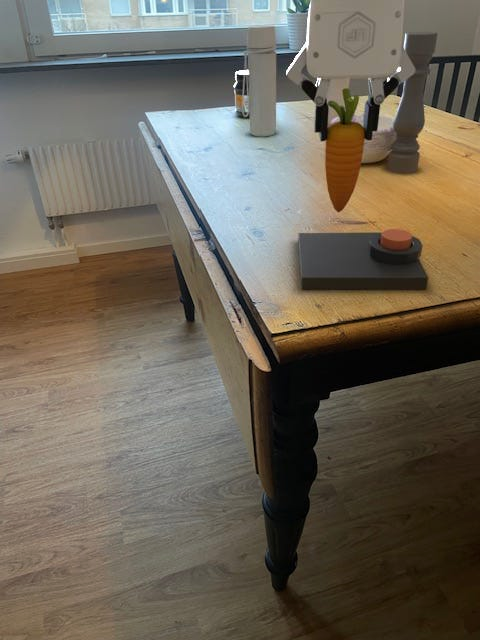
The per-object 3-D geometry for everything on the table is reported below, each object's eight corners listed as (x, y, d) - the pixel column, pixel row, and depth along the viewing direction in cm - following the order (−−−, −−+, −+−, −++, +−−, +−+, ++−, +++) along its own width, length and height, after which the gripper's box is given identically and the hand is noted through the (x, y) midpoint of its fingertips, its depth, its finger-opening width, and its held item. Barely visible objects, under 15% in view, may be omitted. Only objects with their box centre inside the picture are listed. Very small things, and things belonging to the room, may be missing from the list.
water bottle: (271, 129, 138) (271, 24, 124) (280, 136, 132) (281, 26, 118) (239, 132, 136) (235, 26, 122) (247, 139, 130) (243, 28, 116)
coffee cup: (311, 126, 139) (313, 66, 131) (317, 118, 147) (320, 61, 138) (345, 127, 137) (350, 66, 128) (350, 119, 144) (355, 61, 136)
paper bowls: (379, 172, 104) (384, 132, 100) (316, 161, 112) (317, 124, 108) (407, 154, 114) (413, 117, 110) (347, 145, 122) (350, 110, 118)
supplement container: (249, 120, 148) (247, 75, 141) (228, 115, 155) (226, 72, 149) (276, 114, 153) (276, 71, 146) (255, 109, 160) (254, 68, 154)
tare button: (406, 238, 70) (408, 228, 70) (413, 251, 67) (415, 240, 66) (377, 239, 71) (379, 228, 70) (382, 251, 67) (384, 241, 67)
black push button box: (406, 243, 76) (410, 221, 74) (429, 290, 65) (434, 266, 63) (297, 244, 77) (298, 222, 75) (301, 290, 66) (302, 266, 64)
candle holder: (399, 163, 109) (418, 31, 95) (423, 169, 105) (446, 32, 91) (380, 169, 106) (396, 33, 92) (404, 176, 102) (425, 35, 88)
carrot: (350, 221, 64) (362, 95, 56) (314, 215, 66) (320, 92, 58) (362, 208, 68) (375, 87, 59) (327, 203, 70) (335, 85, 61)
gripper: (275, -44, 49) (275, 147, 59) (454, -52, 48) (422, 144, 58) (276, -41, 55) (275, 132, 65) (434, -48, 54) (408, 129, 64)
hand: (344, 136), depth 61 cm, fingers closed on carrot, 4 cm apart
